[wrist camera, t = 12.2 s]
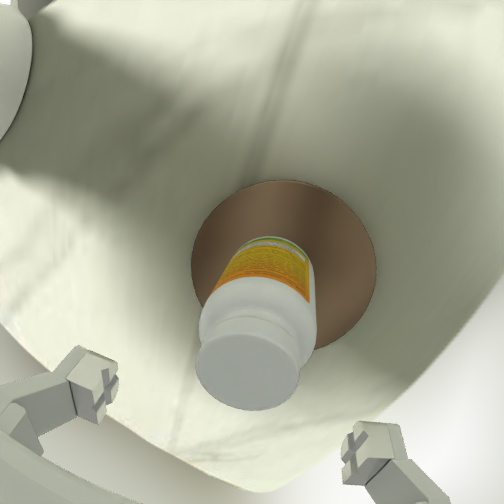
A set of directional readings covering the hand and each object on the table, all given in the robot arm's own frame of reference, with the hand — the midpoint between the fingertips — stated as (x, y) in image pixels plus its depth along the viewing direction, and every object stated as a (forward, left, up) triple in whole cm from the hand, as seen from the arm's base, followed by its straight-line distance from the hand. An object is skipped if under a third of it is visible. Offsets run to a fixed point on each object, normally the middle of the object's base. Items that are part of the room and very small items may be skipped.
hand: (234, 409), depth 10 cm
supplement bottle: (0, 0, -12) cm, 12 cm away
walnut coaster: (+1, 0, -13) cm, 13 cm away
